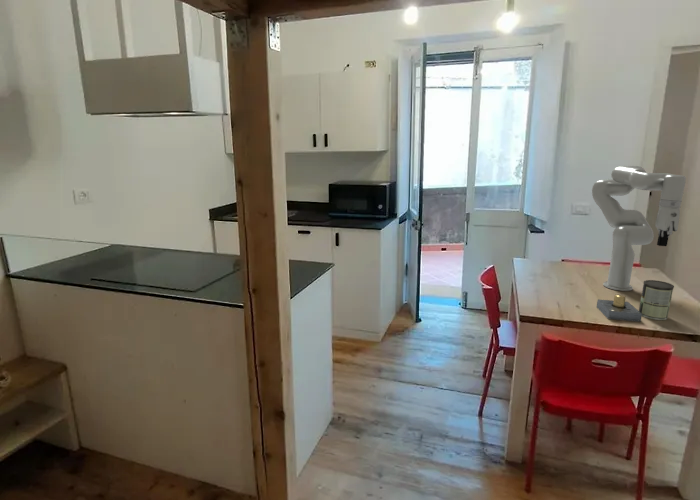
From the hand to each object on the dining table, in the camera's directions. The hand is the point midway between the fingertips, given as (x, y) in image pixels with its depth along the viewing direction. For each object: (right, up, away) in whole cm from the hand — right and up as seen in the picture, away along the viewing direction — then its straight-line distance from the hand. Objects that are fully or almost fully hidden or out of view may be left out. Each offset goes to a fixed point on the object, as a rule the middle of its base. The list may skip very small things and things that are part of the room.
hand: (661, 245), depth 187 cm
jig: (-24, -29, -7) cm, 38 cm away
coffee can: (-10, -30, -8) cm, 32 cm away
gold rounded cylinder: (-24, -29, -6) cm, 38 cm away
